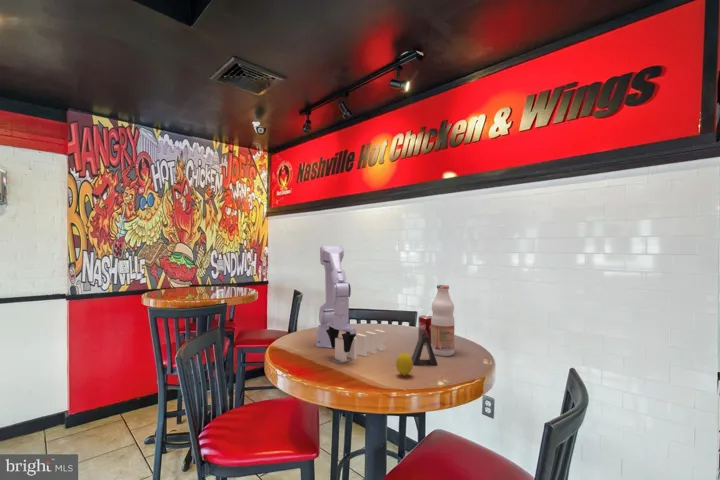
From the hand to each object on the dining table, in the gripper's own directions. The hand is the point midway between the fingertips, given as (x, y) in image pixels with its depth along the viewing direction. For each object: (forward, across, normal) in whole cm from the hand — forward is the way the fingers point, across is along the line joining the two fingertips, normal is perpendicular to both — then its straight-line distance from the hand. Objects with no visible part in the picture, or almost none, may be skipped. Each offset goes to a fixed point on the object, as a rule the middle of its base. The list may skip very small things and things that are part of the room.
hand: (340, 349), depth 137 cm
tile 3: (+4, 0, -11) cm, 12 cm away
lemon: (+4, -27, -5) cm, 28 cm away
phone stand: (+4, -23, -22) cm, 32 cm away
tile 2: (+4, 0, -16) cm, 17 cm away
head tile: (+4, 0, -22) cm, 22 cm away
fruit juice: (+4, -21, -38) cm, 43 cm away
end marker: (+4, 0, 0) cm, 4 cm away
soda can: (+4, -7, -46) cm, 46 cm away
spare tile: (+4, 0, 0) cm, 4 cm away
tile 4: (+4, 0, -6) cm, 7 cm away
